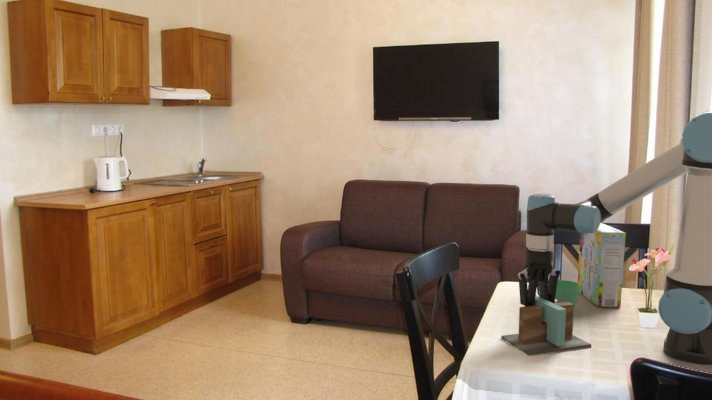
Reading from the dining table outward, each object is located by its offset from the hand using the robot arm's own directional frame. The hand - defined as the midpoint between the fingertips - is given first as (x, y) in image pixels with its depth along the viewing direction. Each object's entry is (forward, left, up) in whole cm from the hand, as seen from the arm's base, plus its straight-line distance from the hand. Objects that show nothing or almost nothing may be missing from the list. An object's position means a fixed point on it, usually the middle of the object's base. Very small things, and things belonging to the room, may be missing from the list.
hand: (536, 328), depth 185 cm
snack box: (+27, -43, -3) cm, 51 cm away
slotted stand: (-4, 0, -3) cm, 5 cm away
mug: (+19, -20, -3) cm, 27 cm away
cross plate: (-4, 0, -1) cm, 5 cm away
